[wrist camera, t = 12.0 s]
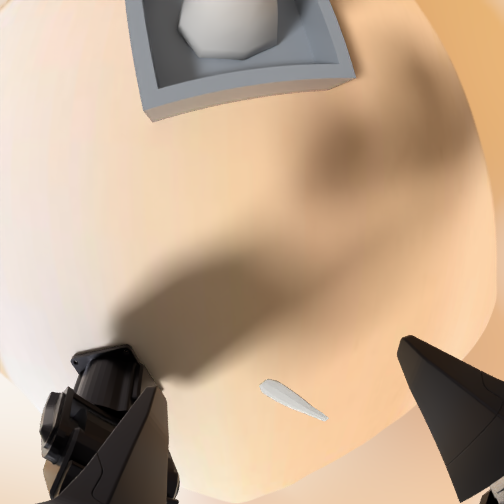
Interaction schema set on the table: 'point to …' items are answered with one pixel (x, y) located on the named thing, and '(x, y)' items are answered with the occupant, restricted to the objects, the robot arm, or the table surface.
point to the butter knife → (289, 398)
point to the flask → (228, 27)
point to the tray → (233, 71)
